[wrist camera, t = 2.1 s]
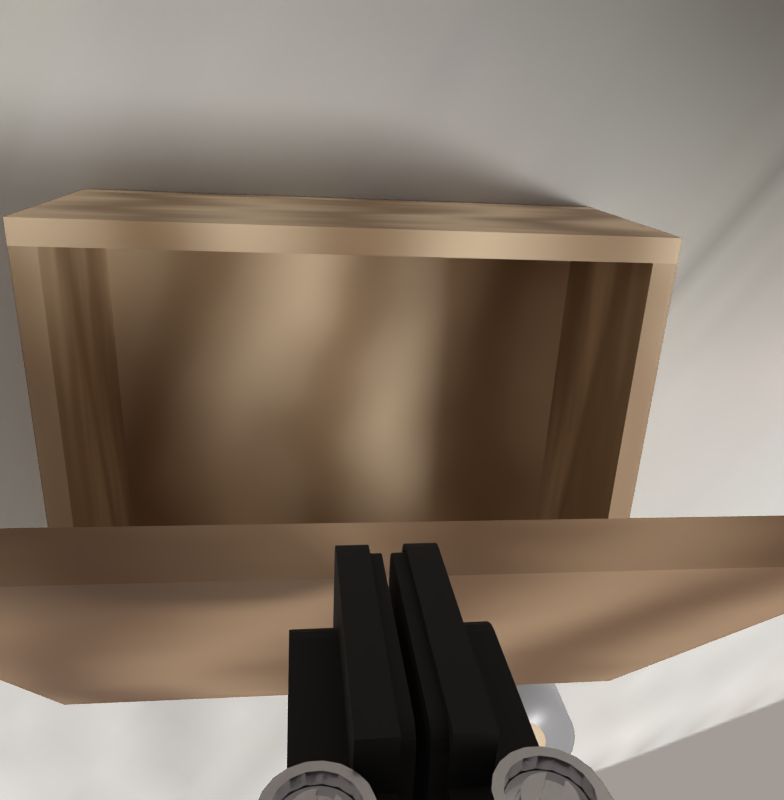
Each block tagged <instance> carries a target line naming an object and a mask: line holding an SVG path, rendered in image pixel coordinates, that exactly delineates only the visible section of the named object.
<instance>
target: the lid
mask: <svg viewBox="0 0 784 800" xmlns="http://www.w3.org/2000/svg"><path fill="white" fill-rule="evenodd" d="M405 543H437V544H438V547H439V550H440V553H441V556H442V559H443V562H444V565H445V568H446V571H447V574H448V577H449V580H450V583H451V586H452V589H453V592H454V595H455V598H456V601H457V604H458V607H459V610H460V613H461V616H462V619H463V622H479V621H488V622H490V623H491V624H492V626H493V628H494V630H495V633H496V635H497V638H498V641H499V643H500V646H501V648H502V651H503V654H504V656H505V659H506V661H507V664H508V667H509V669H510V672H511V674H512V677H513V680H514V682H515V685H524V684H547V683H570V682H592V681H610V680H613V679H615V678H618V677H620V676H623V675H626V674H628V673H631V672H633V671H636V670H639V669H641V668H644V667H646V666H649V665H652V664H654V663H657V662H659V661H662V660H665V659H667V658H670V657H673V656H675V655H678V654H680V653H683V652H686V651H688V650H691V649H693V648H696V647H699V646H701V645H704V644H706V643H709V642H712V641H714V640H717V639H719V638H722V637H725V636H727V635H730V634H732V633H735V632H738V631H740V630H743V629H746V628H748V627H751V626H753V625H756V624H759V623H761V622H764V621H766V620H769V619H772V618H774V617H777V616H779V615H782V614H784V516H737V517H676V518H615V519H554V520H493V521H432V522H371V523H310V524H249V525H188V526H127V527H66V528H5V529H0V680H2V681H5V682H7V683H10V684H12V685H15V686H18V687H20V688H23V689H25V690H28V691H31V692H33V693H36V694H38V695H41V696H43V697H46V698H49V699H51V700H54V701H56V702H59V703H62V704H64V705H67V704H89V703H112V702H135V701H158V700H181V699H204V698H227V697H249V696H272V695H288V671H289V630H292V629H315V628H333V608H334V558H335V545H369V549H370V553H381V554H382V557H383V562H384V567H385V572H386V577H387V583H388V587H389V568H390V555H391V553H400V552H402V547H403V544H405Z"/></svg>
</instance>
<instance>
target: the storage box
mask: <svg viewBox="0 0 784 800" xmlns="http://www.w3.org/2000/svg"><path fill="white" fill-rule="evenodd" d="M3 221H4V228H5V235H6V242H7V249H8V255H9V262H10V269H11V276H12V283H13V290H14V297H15V304H16V311H17V317H18V324H19V331H20V338H21V345H22V352H23V359H24V366H25V372H26V379H27V386H28V393H29V400H30V407H31V414H32V421H33V428H34V434H35V441H36V448H37V455H38V462H39V469H40V476H41V483H42V489H43V496H44V503H45V510H46V517H47V524H48V528H66V527H127V526H188V525H249V524H310V523H371V522H432V521H493V520H554V519H615V518H629V517H630V512H631V507H632V501H633V496H634V491H635V486H636V480H637V475H638V470H639V464H640V459H641V454H642V449H643V443H644V438H645V433H646V427H647V422H648V417H649V412H650V406H651V401H652V396H653V390H654V385H655V380H656V375H657V369H658V364H659V359H660V353H661V348H662V343H663V338H664V332H665V327H666V322H667V316H668V311H669V306H670V301H671V295H672V290H673V285H674V279H675V274H676V269H677V264H678V258H679V253H680V248H681V242H682V238H680V237H677V236H674V235H671V234H668V233H665V232H662V231H659V230H656V229H653V228H650V227H647V226H644V225H641V224H638V223H635V222H633V221H630V220H627V219H624V218H621V217H618V216H615V215H612V214H609V213H606V212H603V211H600V210H597V209H594V208H591V207H570V206H542V205H514V204H487V203H459V202H431V201H403V200H376V199H348V198H320V197H292V196H265V195H237V194H209V193H181V192H154V191H126V190H98V189H83V190H80V191H77V192H74V193H71V194H68V195H65V196H63V197H60V198H57V199H54V200H51V201H48V202H45V203H42V204H39V205H36V206H33V207H30V208H27V209H24V210H21V211H19V212H16V213H13V214H10V215H7V216H4V217H3Z"/></svg>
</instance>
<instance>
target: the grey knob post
mask: <svg viewBox="0 0 784 800" xmlns="http://www.w3.org/2000/svg"><path fill="white" fill-rule="evenodd" d="M516 687H517V690H518V692H519V695H520V698H521V700H522V703H523V705H524V708H525V711H526V713H527V716H528V718H529V721H530V724H531V726H532V729H533V731H534V734H535V737H536V739H537V742H538V744H539V746H543V747H549V748H554V749H559V750H561V751H564V752H566V753H568V754H571V752H572V749H573V745H574V739H575V735H574V728H573V724H572V722H571V720H570V717H569V715H568V713H567V711H566V708H565V706H564V704H563V701H562V699H561V697H560V694H559V692H558V690H557V688H556V685H555V683H547V684H524V685H516Z"/></svg>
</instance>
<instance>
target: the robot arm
mask: <svg viewBox="0 0 784 800" xmlns="http://www.w3.org/2000/svg"><path fill="white" fill-rule="evenodd" d="M259 800H614V799H613V797H612V796H611V794H610V792H609V791H608V789H607V788H606V786H605V785H604V783H603V782H602V780H601V779H600V778H599V777H598V776H597V775H596V773H595V772H594V771H593V770H592V768H590V767H589V766H588V765H586V764H585V763H584V762H582V761H581V760H580V759H578V758H577V757H575V756H573V755H571V754H568V753H566V752H564V751H561V750H559V749H554V748H549V747H543V746H539V744H538V742H537V739H536V737H535V734H534V731H533V729H532V726H531V724H530V721H529V718H528V716H527V713H526V711H525V708H524V705H523V703H522V700H521V698H520V695H519V692H518V690H517V687H516V685H515V682H514V680H513V677H512V674H511V672H510V669H509V667H508V664H507V661H506V659H505V656H504V654H503V651H502V648H501V646H500V643H499V641H498V638H497V635H496V633H495V630H494V628H493V626H492V624H491V623H490V622H488V621H479V622H463V619H462V616H461V613H460V610H459V607H458V604H457V601H456V598H455V595H454V592H453V589H452V586H451V583H450V580H449V577H448V574H447V571H446V568H445V565H444V562H443V559H442V556H441V553H440V550H439V547H438V544H437V543H405V544H403V547H402V552H400V553H391V555H390V568H389V587H388V583H387V577H386V572H385V567H384V562H383V557H382V554H381V553H370V549H369V545H335V558H334V608H333V628H315V629H292V630H289V671H288V744H287V769H286V770H284V771H283V772H281V773H280V774H278V775H277V776H275V777H274V778H273V779H272V780H271V781H270V783H269V784H268V785H267V786H266V787H265V788H264V790H263V791H262V793H261V795H260V797H259Z"/></svg>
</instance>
